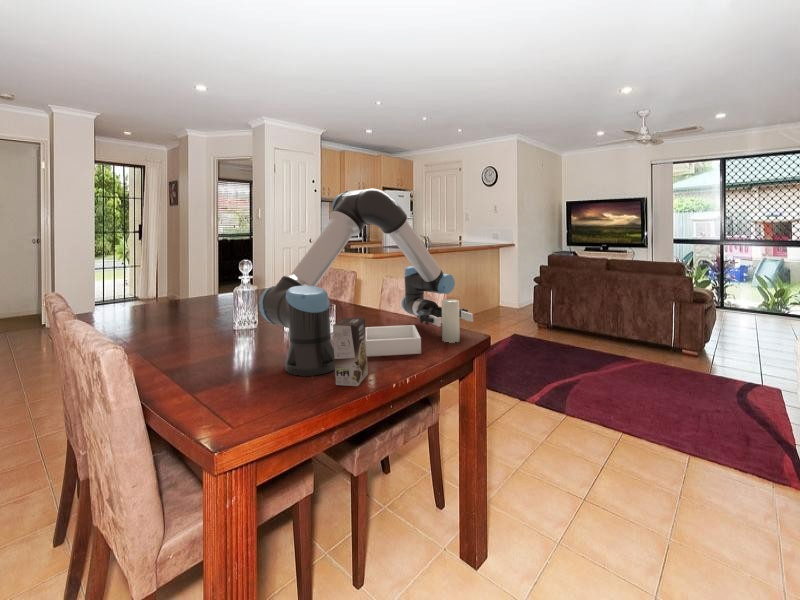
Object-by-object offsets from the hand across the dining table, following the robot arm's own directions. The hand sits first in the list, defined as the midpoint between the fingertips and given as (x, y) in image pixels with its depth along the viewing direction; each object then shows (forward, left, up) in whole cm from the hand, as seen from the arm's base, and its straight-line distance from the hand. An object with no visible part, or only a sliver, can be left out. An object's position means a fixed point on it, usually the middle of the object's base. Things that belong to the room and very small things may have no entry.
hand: (456, 320), depth 145 cm
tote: (-22, -1, -8) cm, 24 cm away
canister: (-1, +3, -8) cm, 9 cm away
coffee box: (-34, -30, -8) cm, 46 cm away
